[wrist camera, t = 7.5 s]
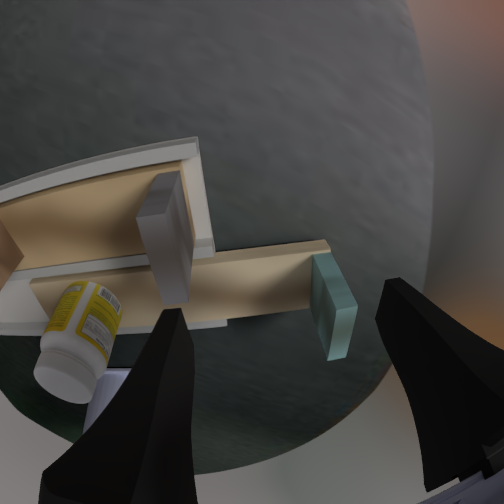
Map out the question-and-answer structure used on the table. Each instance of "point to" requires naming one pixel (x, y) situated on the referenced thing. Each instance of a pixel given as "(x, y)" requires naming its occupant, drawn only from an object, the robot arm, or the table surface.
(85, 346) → the supplement bottle
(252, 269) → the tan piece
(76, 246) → the gray handled wooden slider
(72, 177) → the lane board
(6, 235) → the walnut cube
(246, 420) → the table surface
